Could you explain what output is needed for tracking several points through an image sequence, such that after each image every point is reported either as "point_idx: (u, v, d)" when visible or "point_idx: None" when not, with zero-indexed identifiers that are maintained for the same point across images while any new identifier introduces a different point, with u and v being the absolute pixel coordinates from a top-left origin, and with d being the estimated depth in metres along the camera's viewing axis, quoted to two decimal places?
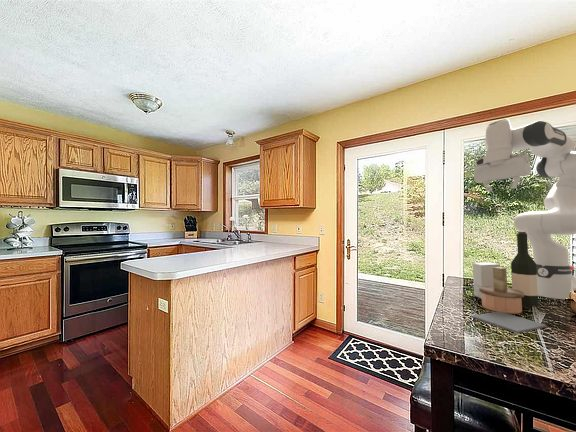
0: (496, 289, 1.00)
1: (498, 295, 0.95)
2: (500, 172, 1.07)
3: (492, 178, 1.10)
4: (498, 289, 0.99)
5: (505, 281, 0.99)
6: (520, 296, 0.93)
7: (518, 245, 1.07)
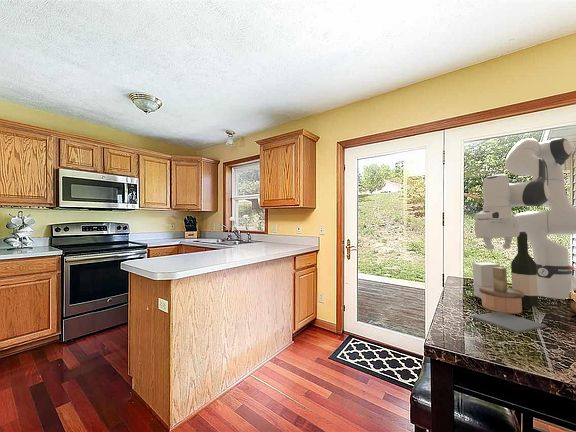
0: (496, 289, 1.00)
1: (498, 295, 0.95)
2: (504, 231, 0.99)
3: (499, 236, 0.98)
4: (498, 289, 0.99)
5: (505, 281, 0.99)
6: (520, 296, 0.93)
7: (518, 245, 1.07)
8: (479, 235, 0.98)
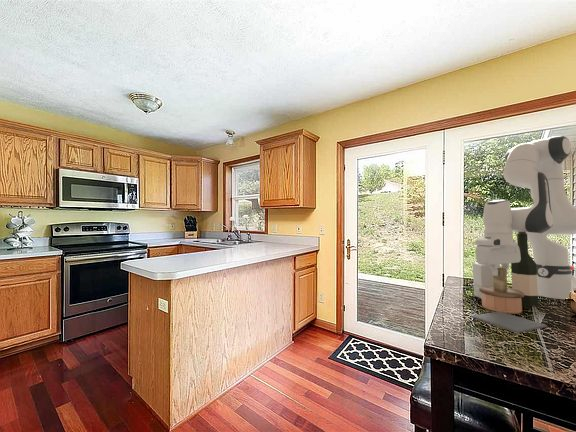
0: (496, 289, 1.00)
1: (498, 295, 0.95)
2: (506, 257, 0.99)
3: (500, 262, 0.98)
4: (498, 289, 0.99)
5: (505, 281, 0.99)
6: (520, 296, 0.93)
7: (518, 245, 1.07)
8: (480, 262, 0.98)
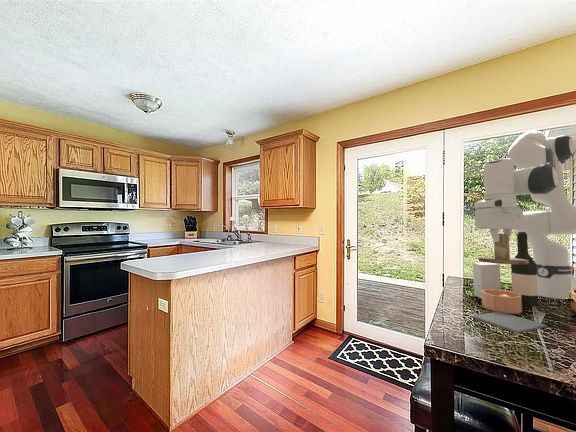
0: (497, 257, 0.90)
1: (499, 262, 0.85)
2: (508, 221, 0.89)
3: (502, 227, 0.88)
4: (499, 257, 0.89)
5: (508, 248, 0.89)
6: (524, 262, 0.83)
7: (518, 245, 1.07)
8: (480, 225, 0.88)
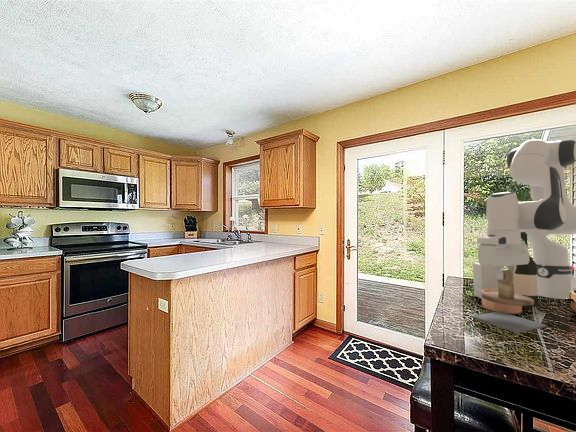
0: (501, 295, 0.87)
1: (504, 302, 0.82)
2: (512, 258, 0.86)
3: (506, 264, 0.85)
4: (503, 295, 0.86)
5: (512, 286, 0.85)
6: (530, 304, 0.80)
7: None
8: (483, 263, 0.84)
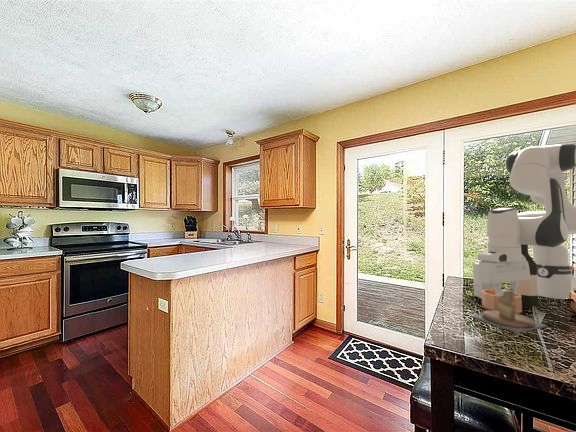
0: (502, 315, 0.86)
1: (505, 324, 0.82)
2: (513, 274, 0.86)
3: (507, 281, 0.85)
4: (504, 316, 0.86)
5: (513, 306, 0.85)
6: (531, 326, 0.80)
7: None
8: (484, 280, 0.84)
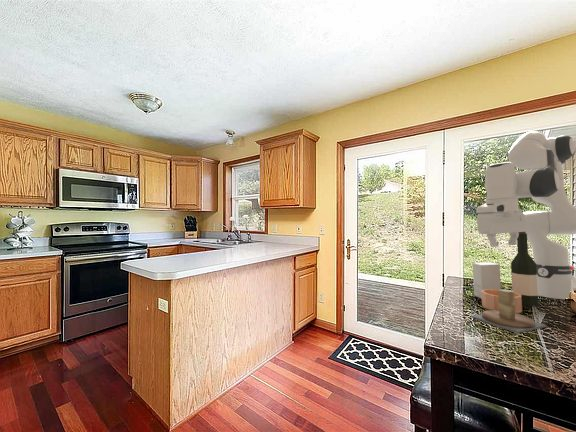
0: (502, 315, 0.86)
1: (505, 324, 0.82)
2: (510, 225, 0.89)
3: (504, 231, 0.88)
4: (504, 316, 0.86)
5: (513, 306, 0.85)
6: (531, 326, 0.80)
7: (518, 245, 1.07)
8: (482, 231, 0.88)
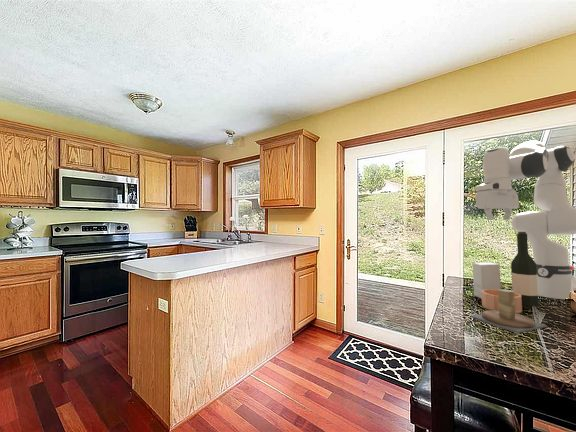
0: (502, 315, 0.86)
1: (505, 324, 0.82)
2: (505, 202, 1.03)
3: (499, 206, 1.02)
4: (504, 316, 0.86)
5: (513, 306, 0.85)
6: (531, 326, 0.80)
7: (518, 245, 1.07)
8: (480, 206, 1.01)
